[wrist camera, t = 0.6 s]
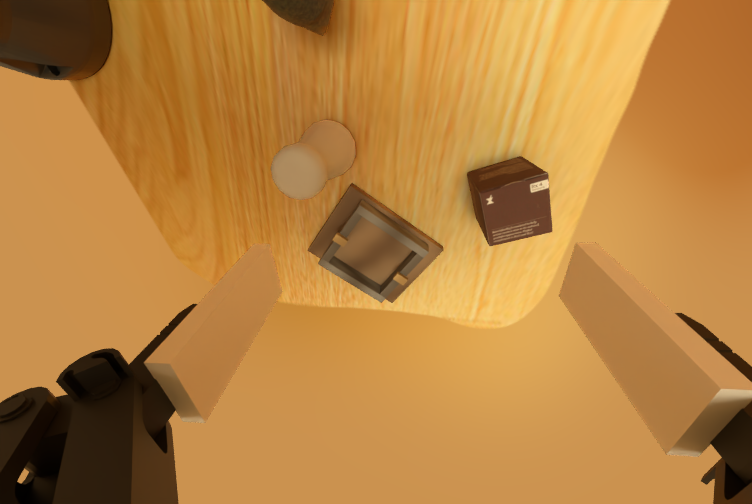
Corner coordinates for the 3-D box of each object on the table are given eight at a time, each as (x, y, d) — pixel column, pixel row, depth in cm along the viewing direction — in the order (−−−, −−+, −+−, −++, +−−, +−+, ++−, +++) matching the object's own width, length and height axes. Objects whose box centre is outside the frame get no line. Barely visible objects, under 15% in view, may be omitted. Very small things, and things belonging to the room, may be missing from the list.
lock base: (309, 246, 41) (301, 260, 38) (352, 183, 36) (346, 193, 33) (392, 298, 44) (390, 315, 41) (442, 246, 39) (445, 260, 35)
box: (475, 218, 36) (487, 247, 30) (465, 171, 34) (477, 192, 27) (528, 205, 35) (554, 233, 28) (523, 154, 32) (550, 172, 26)
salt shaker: (332, 180, 36) (295, 225, 25) (298, 141, 34) (241, 170, 23) (369, 149, 34) (347, 183, 22) (335, 105, 32) (292, 118, 20)
